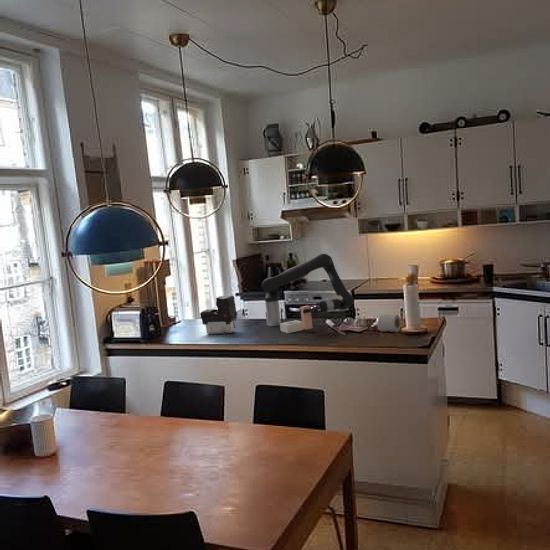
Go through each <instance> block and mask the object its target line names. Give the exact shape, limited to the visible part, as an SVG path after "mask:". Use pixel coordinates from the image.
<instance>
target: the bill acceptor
mask: <svg viewBox="0 0 550 550" xmlns="http://www.w3.org/2000/svg"><path fill="white" fill-rule="evenodd" d="M215 301H216V302H215V305H216V306H215V307H217V309H215V308H209V309H208V308H207V309H205V310H203V311H201V312H200V314H199V316H200V319H201V323H202V325H203V326H204V325H205V330H206V334H209V335H213V334H224V335H225V334H226V335H227V334H230V333H232V334H233V333H234V332H236V330H235V329H236V324H235V322H236V321H237V319H238V312H237V306H236V302H235V296H234V295H232V294H231V295H221V296H218V297H215Z"/></svg>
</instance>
